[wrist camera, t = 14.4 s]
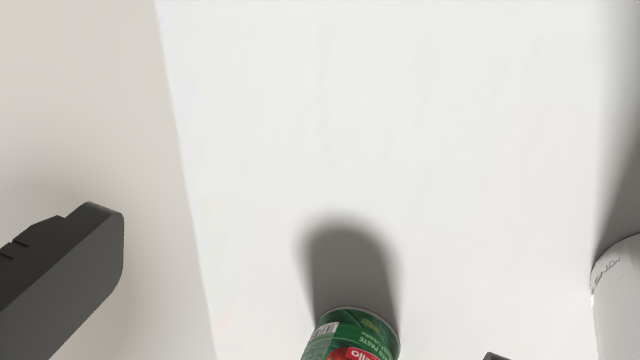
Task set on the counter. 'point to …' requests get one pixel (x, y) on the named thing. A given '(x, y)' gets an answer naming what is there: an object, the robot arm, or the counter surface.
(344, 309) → the canned tomato
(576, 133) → the counter surface
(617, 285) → the robot arm
